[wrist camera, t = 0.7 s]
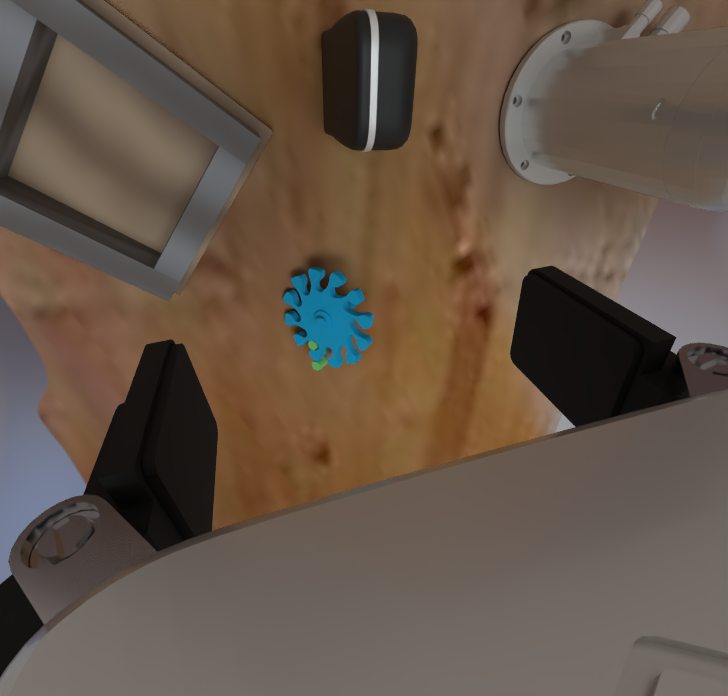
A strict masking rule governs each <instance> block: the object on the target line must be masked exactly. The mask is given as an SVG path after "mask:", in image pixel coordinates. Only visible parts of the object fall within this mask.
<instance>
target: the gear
mask: <svg viewBox="0 0 728 696" xmlns="http://www.w3.org/2000/svg"><path fill="white" fill-rule="evenodd" d="M308 275H309V277H310V281H311V290H310V292H309V291H308V290H307V287H306V286H307V277H306V275H305V274H300V275H298V276H296V277H293V278H292V279H291V282H292V284H293V286H294V287H295V288H296V289H297V290H298V292H299V294H300V297H301V301H302V303H301V302H300V301H299V298H298V294H297V292H296V291H295V290H293V289H292V290H290V291H288V292H286V294H285V295H284V298H283V300H284V302H285V303H286V304H289V305H291V306H292V307H294V308H295V309H296V310H297V312H298V313H299V315H300V316H301V318H300V317H299V316H298V314H297V313H296V312H295V311H290V312H288V313H286V314H285V322H286V324H287V325H297V326H300V327H302V328H303V329H305V330H306V332H307V334H306V333H305V332H303V331H300V332H299V333H297V334H295V335H294V339H295V341H296V343H297V345H298V346H302V345H303V344H305V343H306V342H307V341H309V342H308V346H309V348H310V349H311V351H310V352H309V355H310V356H311V357H312V358H313V359H314V360H315V361H314V362H313V363H312V367H313V369H315V370H317V371H318V370H320V369H321V368H322V367H324V366H325V365H326V364H327V359H326V358H325V357H327V356H328V355H329V354H331V353H332V351H333V355H332V356H331V357H330V358H329V359H328V364H329V365H330V366H332V367H335V368H338V367H340V366H341V365H342V364H343V358H342V355H341V348H342V346H344V347H345V348H346V350H347V353H346V357H345V359H346V361H347V363H348V364H353V363H356V362H358V361H359V360H360V359H361V354H360V353H359V352H358V351H357V349H356V348H355V346H354V344H353V341H352V336H354V337H355V339H356V342H357V346H358V348H359V349H360V350H362V351H363V350H365V349H366V348H367V347H369V346H370V345H371V343H372V342H373V339H372V338H371V337H370V336H369V335H366V334H364V333H363V332H361V331H360V330H359V329H358V328H357V326H356V325H355V323H354V320H356V321H357V322H358V324H359V325H360V326H361V327H362V328H364V329H368V328H369V327H370V326H372V324H373V314H372V313H370V312H365V313H360V312H356V311H354V310H353V308H355V307H356V306H357V305H358V304H360V303H361V302H363V301H364V295H363V293H362V291H361V289H360V288H356V289H354V290H352V291H351V292H349V294H348V295H344V296H341V295H338V294H337V293H336V291H335V287H339V286H341V285H343V284H345V283H346V281H347V279H346V277H345V276H344V275H343V274H342V273H341V272H340V271H336V272H334V273H332V274H331V275H330V277H329V284H328V286H327V288H326V289H325V290H324V289H322V288H321V286H320V280H321V279H322V278H324V276H325V270H324V269H323V268H320V267H312V268H310V269H309V270H308Z"/></svg>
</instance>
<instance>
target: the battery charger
mask: <svg viewBox="0 0 728 696" xmlns="http://www.w3.org/2000/svg"><path fill="white" fill-rule="evenodd" d="M417 45H418V43H417V32H416V28H415V26H414V24H413V22H412V21H411V19H409V18H408V17H407V16H405V15H401V14H396V13H387V12H375V11H374V10H373V9H361V10H357V11H353V12H351V13H349V14H347V15H345V16H344V17H343V18H341V19H340V20H339V21H338V22H337V23H336V24H335V25H334V26H333V27H332V28H331V29H329V30H327V31H324V32H323V34H322V68H323V102H324V129H325V132H326V133H327V134H329V135H331V136H333V137H334V138H335V139H336V140H338V141H339V142H340V143H341V144H343V145H344V146H346V147H348V148H350V149H352V150H357V151H360V152H369V151H371V150H392V149H398V148H399V147H401V146H403V144H404V143H405V142H406V141H407V139H408V137H409V134H410V130H411V123H412V111H413V100H414V88H415V74H416V60H417Z"/></svg>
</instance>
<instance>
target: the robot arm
mask: <svg viewBox="0 0 728 696" xmlns="http://www.w3.org/2000/svg"><path fill="white" fill-rule="evenodd" d="M662 7H663V6H662V2H661V1H660V0H646V2H645V3H644V4H643V5H642V7H641V8H640V9H639V10H638V12H637V13H636V14H635V16H634V18H633V19H632V20H631V22H630V23H629V24H628V25H624V26H623V27H620V28H613V27H612V26H610V25H609V24H607V23H605V22H602V21H598V20H595V19H593V20H579V21H574V22H569V23H567V24H564V25H562V26H560V27H557V28H555V29H554V30H552V31H551V32H549V33H548V34H547V35H545V36H544V37H542V38H541V39H540V40H539V41H538V42H537V43H536V44H535V45H534V46H533V47H532V48H531V49H530V50H529V52H528V53H527V54H526V56H525V57H524V58H523V60H522V61H521V62H520V64H519V66H518V68H517V69H516V71H515V73H514V75H513V77H512V79H511V81H510V84H509V86H508V89H507V91H506V94H505V97H504V101H503V106H502V110H501V118H500V140H501V145H502V149H503V153H504V156H505V158H506V160H507V162H508V164H509V166H510V167H511V168H512V169H513V171H514V172H515V173H516V174H517V175H519V176H520V177H521V178H523V179H525V180H527V181H530V182H532V183H536V184H540V185H554V184H558V183H563V182H565V181H568V180H570V179H572V178H574V177H576V176H579V177H583V178H587V179H590V180H594V181H598V182H602V183H605V184H609V185H613V186H616V187H620V188H624V189H628V190H631V191H635V192H639V193H642V194H646V195H650V196H653V197H657V198H661V199H665V200H668V201H672V202H676V203H679V204H683V205H688V206H692V207H695V208H700V209H704V210H710V211H723V212H724V211H728V27H720V28H712V29H704V30H695V31H687V32H681V31H682V30H683V28H684V27H685V26H686V25H687V24H688V23H689V20H690V15H689V13H688V11H687V10H686V9H685V8H683V7H681V6H673V7H671V8H669V9H668V11H667V12H666V13H665V14H664V15H663V17H662V18H661V19H660V20H659V22H658V23H657V24H656V25H655V26H654V28H653V29H652V30H651V32H650V34H649V35H648V36H644V37H640V34H641V33H642V31H643V30H644V29H645V28H646V27H647V26H648V25H649V24H650V23H651V22H652V21H653V19H654V18H655V17H656V16H657V15H658V13H659V12H660V11H661V9H662ZM513 99H514V101H513ZM675 339H676V337H675V336H673V335H671V334H669V333H668V332H666V331H664V330H662V329H661V328H659V327H657V326H656V325H654V324H652V323H651V322H649V321H647V320H645V319H644V318H642V317H640V316H638V315H637V314H635V313H633V312H632V311H630V310H628V309H626V308H625V307H623V306H621V305H620V304H618V303H616V302H614V301H613V300H611V299H609V298H607V297H606V296H604V295H602V294H601V293H599V292H597V291H595V290H594V289H592V288H590V287H589V286H587V285H585V284H583V283H582V282H580V281H578V280H576V279H575V278H573V277H571V276H570V275H568V274H566V273H564V272H563V271H561V270H559V269H558V268H556V267H554V266H547V267H542V268H537V269H532V270H531V271H529V273H528V275H527V276H525V277H524V279H523V282H522V288H521V294H520V299H519V305H518V311H517V317H516V322H515V328H514V334H513V339H512V345H511V351H510V355H511V360H512V362H513V363H514V364H515V365H516V367H517V368H518V369H519V370H520V371H521V372H522V373H523V374H524V375H525V376H526V377H527V378H528V379H529V380H530V381H531V382H532V383H533V384H534V385H535V386H536V387H537V388H538V389H539V390H540V391H541V392H542V393H543V394H544V395H545V396H546V397H547V398H548V399H549V400H550V401H551V402H552V403H553V404H554V405H555V406H556V407H557V408H558V409H559V410H560V411H561V412H562V413H563V415H564V416H566V418H567V419H568V420H569V421H570V422H571V423H572V424H573V425H574V426H575V428H571V429H568V430H564V431H560V432H556V433H553V434H549V435H545V436H542V437H538V438H534V439H531V440H527V441H523V442H520V443H516V444H512V445H509V446H505V447H501V448H498V449H494V450H491V451H487V452H483V453H480V454H476V455H472V456H469V457H465V458H462V459H458V460H454V461H451V462H447V463H444V464H440V465H436V466H433V467H429V468H425V469H422V470H418V471H415V472H411V473H408V474H404V475H401V476H397V477H393V478H390V479H386V480H383V481H379V482H376V483H372V484H369V485H365V486H362V487H358V488H354V489H351V490H347V491H344V492H340V493H337V494H333V495H330V496H326V497H322V498H319V499H315V500H312V501H308V502H305V503H302V504H298V505H295V506H292V507H288V508H285V509H282V510H278V511H275V512H272V513H268V514H265V515H261V516H258V517H255V518H251V519H248V520H245V521H241V522H238V523H235V524H231V525H228V526H226V527H223V528H220V529H217V530H214V531H212V518H213V502H214V486H215V470H216V455H217V439H218V430H217V424H216V421H215V418H214V416H213V413H212V411H211V409H210V406H209V404H208V401H207V399H206V397H205V394H204V392H203V389H202V387H201V385H200V382H199V380H198V377H197V375H196V373H195V370H194V368H193V365H192V363H191V361H190V358H189V356H188V353H187V351H186V349H185V347H184V345H183V344H182V343H181V344H175V342H174V341H173V340H166V341H161V342H156V343H151V344H147V345H146V346H145V348H144V351H143V354H142V356H141V359H140V362H139V365H138V367H137V370H136V373H135V376H134V378H133V381H132V384H131V387H130V389H129V392H128V395H127V398H126V400H125V403H122V404H120V405H119V406H118V407H117V409H116V411H115V413H114V416H113V418H112V421H111V424H110V426H109V429H108V432H107V434H106V437H105V439H104V442H103V445H102V447H101V450H100V453H99V455H98V458H97V460H96V463H95V466H94V468H93V471H92V474H91V476H90V479H89V481H88V484H87V487H86V489H85V492H84V495H81V496H75V497H72V498H69V499H67V500H64V501H62V502H59V503H57V504H56V505H54V506H52V507H51V508H49V509H47V510H46V511H44V512H43V513H41V514H40V515H39V516H38V517H37V518H36V519H34V520H33V521H32V522H31V523H30V524H29V525H28V526H27V527H26V528H25V529H24V530H23V532H22V533H21V534H20V535H19V536H18V538H17V540H16V542H15V543H14V545H13V547H12V549H11V552H10V556H9V566H10V570H11V572H12V575H11V576H10V577H9V578H8V579H6V580H5V581H4V582H3V583H1V584H0V696H728V348H727V347H724V346H720V345H715V344H709V343H690V344H687V345H684V346H682V348H680V349H679V351H678V353H677V355H676V354H675V353H673V352H671V351H670V350H671V348H672V346H673V343H674V341H675Z"/></svg>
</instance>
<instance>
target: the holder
mask: <svg viewBox="0 0 728 696" xmlns="http://www.w3.org/2000/svg"><path fill="white" fill-rule="evenodd" d="M272 133H273V130H271V129H270V128H269V127H268V126H266V125H265V124H264V123H262V122H261V121H260V120H259V119H257V118H256V117H255V116H253V115H252V114H251V113H250V112H248V111H247V110H246V109H244V108H243V107H242V106H240V105H239V104H238V103H237V102H235V101H234V100H233V99H231V98H230V97H229V96H228V95H226V94H225V93H224V92H222V91H221V90H220V89H219V88H217V87H216V86H215V85H213V84H212V83H211V82H210V81H208V80H207V79H206V78H204V77H203V76H202V75H201V74H199V73H198V72H197V71H195V70H194V69H193V68H192V67H190V66H189V65H188V64H186V63H185V62H184V61H182V60H181V59H180V58H179V57H177V56H176V55H175V54H173V53H172V52H171V51H170V50H168V49H167V48H166V47H164V46H163V45H162V44H161V43H159V42H158V41H157V40H155V39H154V38H153V37H152V36H150V35H149V34H148V33H146V32H145V31H144V30H143V29H141V28H140V27H139V26H137V25H136V24H135V23H134V22H132V21H131V20H130V19H128V18H127V17H126V16H124V15H123V14H122V13H121V12H119V11H118V10H117V9H115V8H114V7H113V6H112V5H110V4H109V3H108V2H106V1H105V0H0V226H2V227H4V228H7V229H9V230H11V231H13V232H15V233H18V234H20V235H22V236H24V237H27V238H29V239H31V240H33V241H36V242H38V243H40V244H42V245H44V246H47V247H49V248H51V249H53V250H56V251H58V252H60V253H62V254H64V255H67V256H69V257H71V258H73V259H76V260H78V261H80V262H82V263H84V264H87V265H89V266H91V267H93V268H96V269H98V270H100V271H102V272H104V273H107V274H109V275H111V276H113V277H116V278H118V279H120V280H122V281H124V282H127V283H129V284H131V285H133V286H136V287H138V288H140V289H142V290H145V291H147V292H149V293H151V294H153V295H156V296H158V297H160V298H162V299H165V300H167V301H170V299H171V297H172V295H173V294H174V293H176V294H178V295H180V294H181V292H182V290H183V288H184V287H185V285H186V283H187V282H188V280H189V278H190V276H191V275H192V273H193V271H194V269H195V268H196V266H197V264H198V262H199V261H200V259H201V257H202V255H203V254H204V252H205V250H206V248H207V247H208V245H209V243H210V241H211V240H212V238H213V236H214V234H215V233H216V231H217V229H218V227H219V226H220V224H221V222H222V220H223V219H224V217H225V215H226V213H227V212H228V210H229V208H230V206H231V205H232V203H233V201H234V199H235V198H236V196H237V194H238V193H239V191H240V189H241V187H242V186H243V184H244V182H245V180H246V179H247V177H248V175H249V173H250V172H251V170H252V168H253V166H254V165H255V163H256V161H257V159H258V158H259V156H260V154H261V152H262V151H263V149H264V147H265V145H266V144H267V142H268V140H269V138H270V137H271V135H272Z"/></svg>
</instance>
